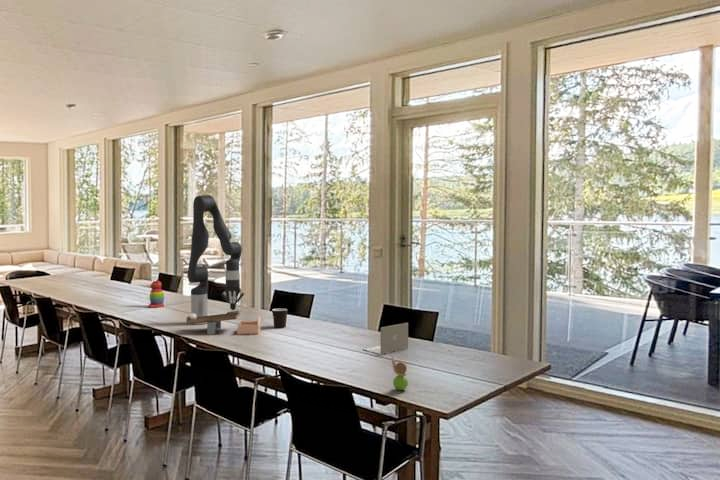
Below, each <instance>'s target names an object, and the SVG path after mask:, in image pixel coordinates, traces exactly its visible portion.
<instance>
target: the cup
mask: <svg viewBox="0 0 720 480" xmlns="http://www.w3.org/2000/svg"><path fill="white" fill-rule="evenodd" d="M261 323H262V322H261V315H258V317H257V318H256V321H255V320H254V321H253V320H252V321H251V320H250V321H249V320H247V321H244V320H243V321H242V320H241V321H240V324H238V325H237V328H236V335H240V334H251V335H260V332H261V327H262V326H261Z"/></svg>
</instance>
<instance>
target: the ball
mask: <svg viewBox="0 0 720 480" xmlns="http://www.w3.org/2000/svg"><path fill="white" fill-rule="evenodd" d="M188 316H189V319H190V320H191V319H196V318H197V315H196V314H195V313H192V314H191V313H190V314H189V315H188Z"/></svg>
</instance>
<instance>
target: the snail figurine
mask: <svg viewBox="0 0 720 480" xmlns="http://www.w3.org/2000/svg"><path fill="white" fill-rule="evenodd" d="M394 358H395V356H391V364H392V369H393V372H394V373H395V375H396V376H395V377H394V379H393V381H392V385H393V387H394V388H395V390H396V391H404V390H405V389H407V387H408V385H409V381H408V379H407V377H406V376H407V373H406V372H407V369H408V368H407V365H406V364H405V363H404V362H402V361H399V362H397V363H396V359H394Z"/></svg>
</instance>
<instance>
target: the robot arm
mask: <svg viewBox="0 0 720 480" xmlns="http://www.w3.org/2000/svg"><path fill="white" fill-rule="evenodd" d="M192 210H193V211H192V213H193V217H192V219H193V221H192V223H193V224H192V233H191V245H190V255H189V256H190V257H189V262H188V267H187V269H188V270H187V279H188V280H187V281H188V282H189V283H199V284H197V286H195V287H193V288H191V290H190V314H192V313H195V314H196V315H197V317H201V316H209V314H208V307H209V306H208V289H209V271H208V267H207V266H205V265H201V266H199V265H198V263H199V260H200V258H201V257H202V256H203V255H204V253H205V251H206V250H207V249H208V247H209V239H210V235H209V234H210V233H209V231H208V229H207V227H206V224H205V223H204V214H205V212H206V213H207V212H209V213H210V215H211V216H212V222H213V223H212V225H213V231H214V233H215V235H216V237H217V238H218V240H219V242H220V247H221V250H222V252H223V253H224V254H225V255H226V256H230V257H229V259H227V260H226V262H225V288H224V291H223V292H222V293H221V294H220V295H221V297H222V299H224V300H225V302H226V303H229V305H230V306H229V309H230V310H231V311H236V308H237V303H239V302H240V301H241V299H242V298H243V296H244V295H245V292H243V291H241V283H240V282H241V280H240V260H241V256H242V250H243V247H242V245H241V243H239V242H238V241H233V242H232V241H231V239H232V238H233V237H232V234H231V231H230V230H229V228H228V227H227V224H225V221H224V219H223V216H222V214H221V212H220V209H219V206H218V204H217V201H216V200H215V197H214V196H212V195H209V194H206V195H205V194H204V195H197V196H195V197H194V199H193V203H192ZM238 296H239V297H238ZM237 297H238V298H237ZM206 324H207V323H198V324H195V325H206Z"/></svg>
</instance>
